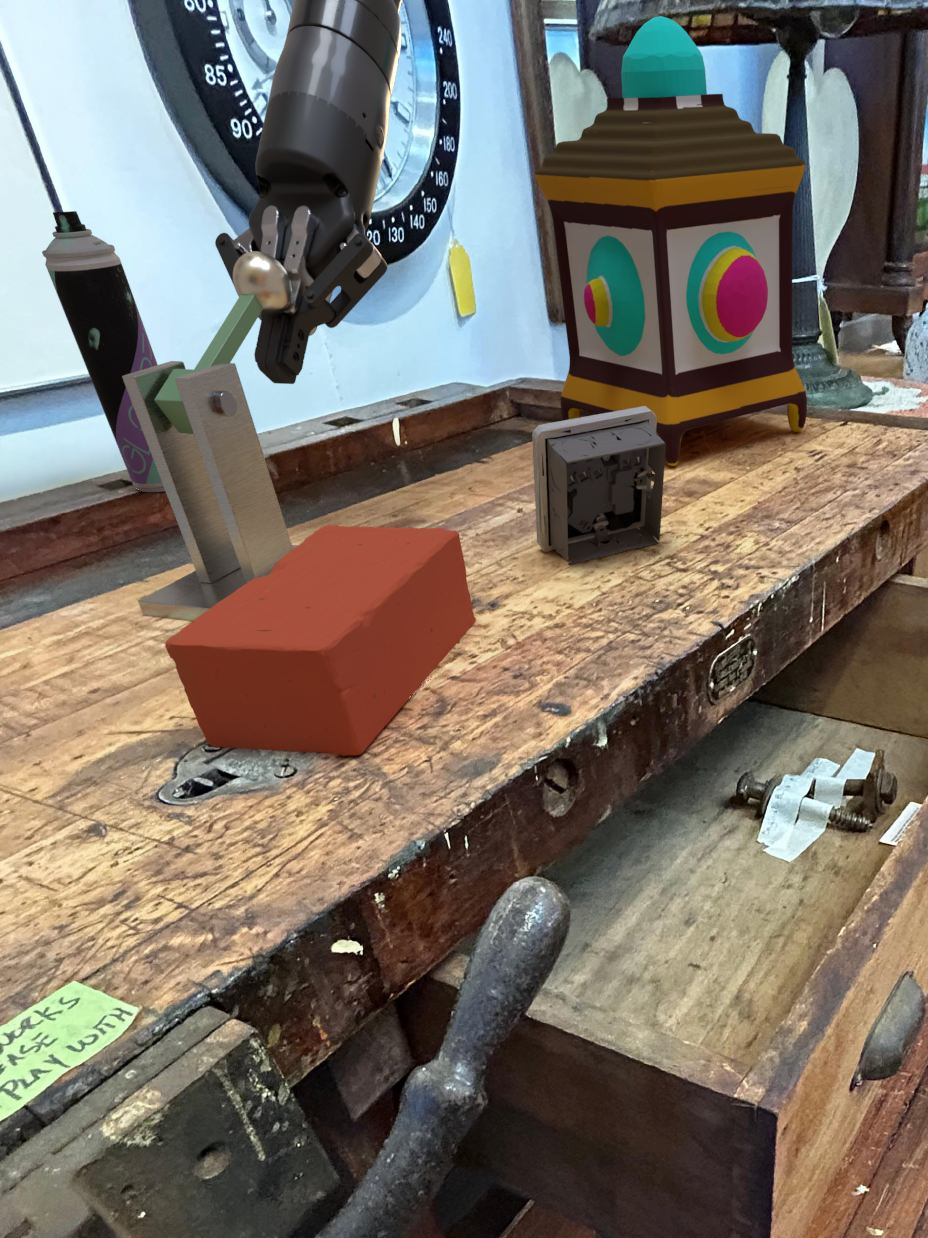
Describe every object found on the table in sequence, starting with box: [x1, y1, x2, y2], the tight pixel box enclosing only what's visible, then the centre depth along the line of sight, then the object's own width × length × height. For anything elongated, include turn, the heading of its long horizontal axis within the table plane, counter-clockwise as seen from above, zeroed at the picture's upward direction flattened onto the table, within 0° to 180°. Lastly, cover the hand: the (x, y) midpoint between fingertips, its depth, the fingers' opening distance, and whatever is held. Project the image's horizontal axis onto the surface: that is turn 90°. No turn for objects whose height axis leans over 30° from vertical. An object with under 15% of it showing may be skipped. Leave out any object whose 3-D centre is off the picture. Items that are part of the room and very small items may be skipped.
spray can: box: [41, 210, 166, 493], centre depth 87 cm, size 6×6×20 cm
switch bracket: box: [122, 360, 298, 622], centre depth 68 cm, size 12×9×14 cm
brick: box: [165, 524, 477, 757], centre depth 59 cm, size 18×9×6 cm, turn 171°
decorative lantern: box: [534, 15, 808, 467], centre depth 91 cm, size 20×20×30 cm
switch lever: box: [154, 251, 292, 434], centre depth 67 cm, size 14×4×4 cm, turn 163°
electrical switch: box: [531, 406, 666, 565], centre depth 74 cm, size 9×5×9 cm, turn 122°
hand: (275, 376), depth 71 cm, fingers closed
